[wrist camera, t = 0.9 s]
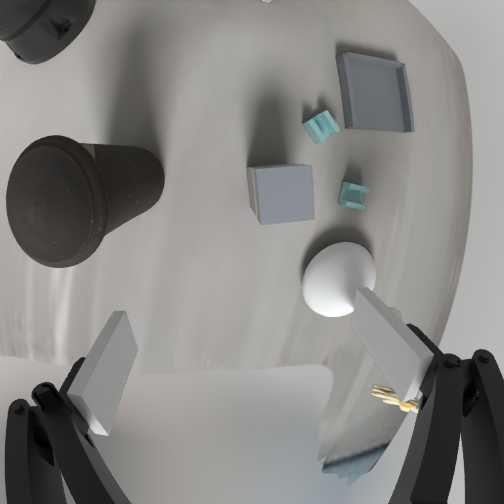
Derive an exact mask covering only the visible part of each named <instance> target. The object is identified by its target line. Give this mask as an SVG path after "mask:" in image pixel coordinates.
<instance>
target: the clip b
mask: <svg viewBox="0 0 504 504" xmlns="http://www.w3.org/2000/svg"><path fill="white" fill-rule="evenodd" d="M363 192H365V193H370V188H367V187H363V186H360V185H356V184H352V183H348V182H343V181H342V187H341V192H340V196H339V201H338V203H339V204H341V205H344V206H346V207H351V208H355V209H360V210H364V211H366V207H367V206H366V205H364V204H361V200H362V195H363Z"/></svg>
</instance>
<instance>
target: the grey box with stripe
mask: <svg viewBox="0 0 504 504" xmlns="http://www.w3.org/2000/svg"><path fill="white" fill-rule="evenodd" d="M247 177H248V187H249V197H250V207H251V209H252V210H253V212H254V214H255V216H256V218H257V220H258V221H259V222H260V224H261V225H267V224H276V223H286V222H295V221H305V220H314V219H315V214H314V193H313V177H312V165H304V164H277V165H265V166H253V167H247Z"/></svg>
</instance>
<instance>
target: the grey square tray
mask: <svg viewBox="0 0 504 504" xmlns="http://www.w3.org/2000/svg"><path fill="white" fill-rule="evenodd" d="M336 62H337V68H338V74H339V81H340V88H341V95H342V103H343V111H344V120H345V128H348V129H368V130H382V131H393V132H403V133H408V132H415V131H414V121H413V112H412V104H411V97H410V90H409V84H408V79H407V73H406V68H405V64H404V63H400V62H396V61H392V60H387V59H383V58H378V57H373V56H368V55H362V54H357V53H350V52H343V51H342V52H341V53H340V54H339V55H337V56H336Z"/></svg>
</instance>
